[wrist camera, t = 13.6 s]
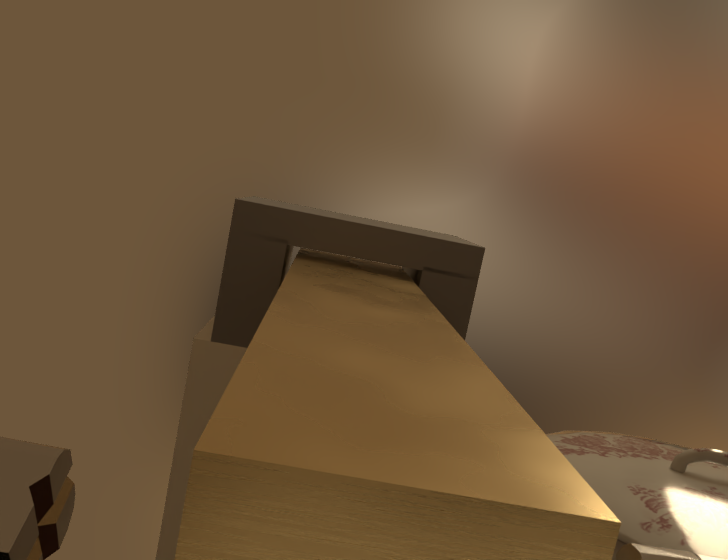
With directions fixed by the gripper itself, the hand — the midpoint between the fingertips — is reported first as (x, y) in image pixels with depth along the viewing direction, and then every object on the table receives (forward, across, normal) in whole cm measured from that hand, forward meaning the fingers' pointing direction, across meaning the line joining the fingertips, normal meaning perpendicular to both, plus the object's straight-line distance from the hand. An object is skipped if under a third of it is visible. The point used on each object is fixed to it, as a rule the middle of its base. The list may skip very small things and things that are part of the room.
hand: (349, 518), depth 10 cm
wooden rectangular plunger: (+5, 0, -5) cm, 7 cm away
